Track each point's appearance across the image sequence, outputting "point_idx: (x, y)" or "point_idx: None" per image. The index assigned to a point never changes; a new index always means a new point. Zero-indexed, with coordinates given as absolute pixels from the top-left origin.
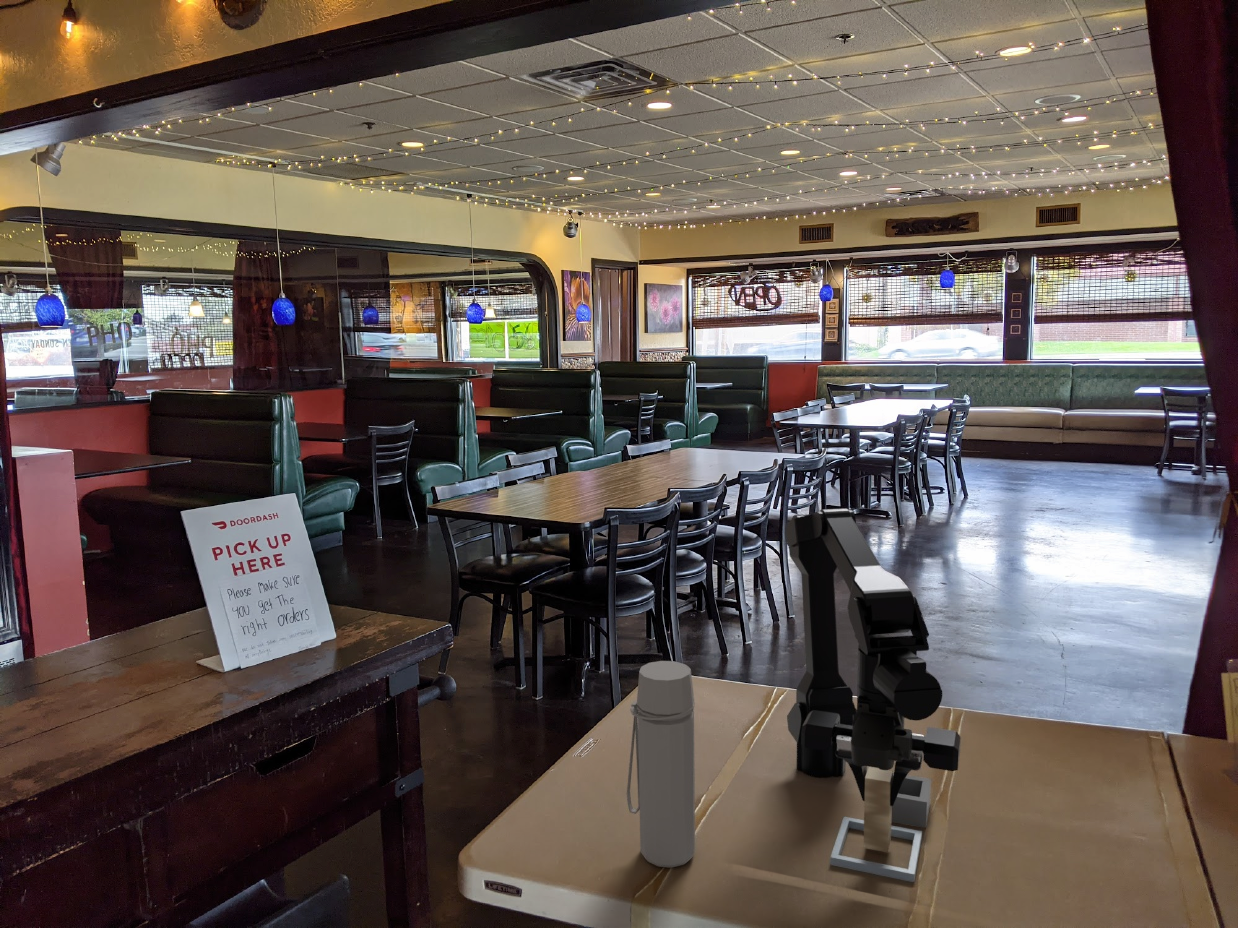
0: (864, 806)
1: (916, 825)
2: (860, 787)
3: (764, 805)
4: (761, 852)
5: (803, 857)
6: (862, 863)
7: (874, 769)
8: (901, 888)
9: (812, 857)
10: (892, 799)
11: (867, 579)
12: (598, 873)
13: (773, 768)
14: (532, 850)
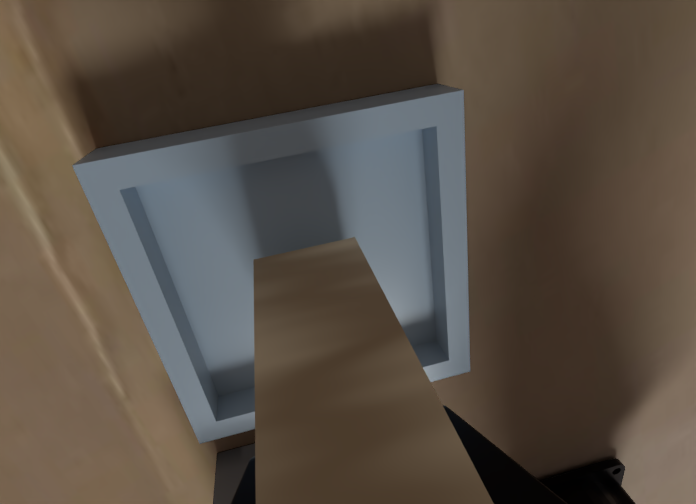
0: (419, 362)
1: (246, 464)
2: (513, 479)
3: (685, 316)
4: (693, 58)
5: (545, 113)
6: (320, 120)
7: None
8: (138, 116)
9: (515, 132)
10: (249, 501)
11: None
12: None
13: (666, 462)
14: None
